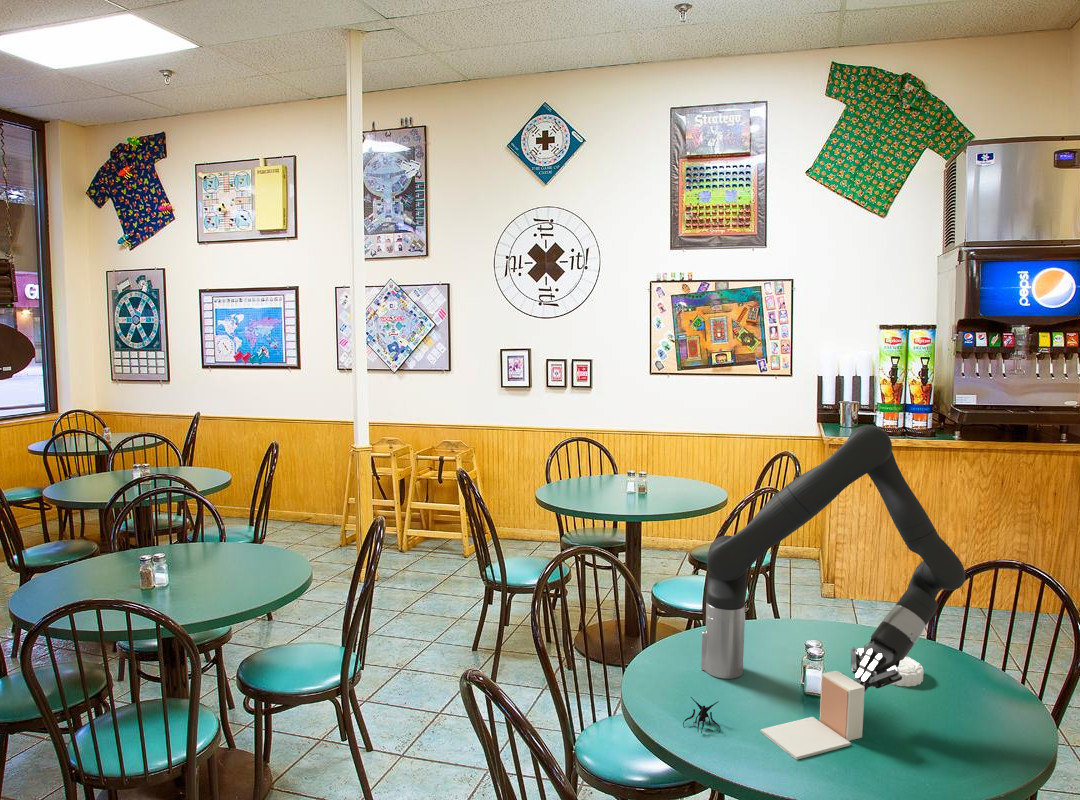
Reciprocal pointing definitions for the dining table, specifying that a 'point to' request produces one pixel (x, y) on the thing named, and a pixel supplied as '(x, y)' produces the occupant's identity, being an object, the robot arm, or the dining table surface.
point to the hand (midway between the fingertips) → (851, 696)
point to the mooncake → (909, 673)
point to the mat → (805, 737)
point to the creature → (702, 716)
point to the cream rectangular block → (842, 705)
